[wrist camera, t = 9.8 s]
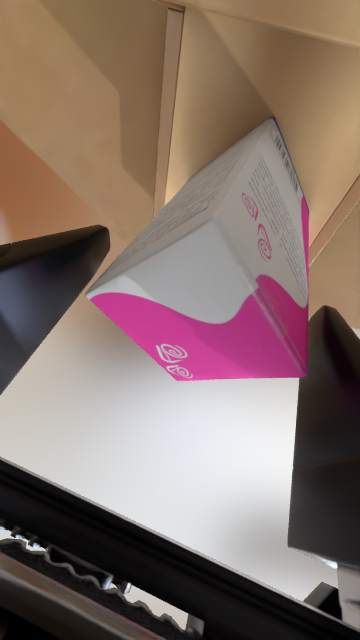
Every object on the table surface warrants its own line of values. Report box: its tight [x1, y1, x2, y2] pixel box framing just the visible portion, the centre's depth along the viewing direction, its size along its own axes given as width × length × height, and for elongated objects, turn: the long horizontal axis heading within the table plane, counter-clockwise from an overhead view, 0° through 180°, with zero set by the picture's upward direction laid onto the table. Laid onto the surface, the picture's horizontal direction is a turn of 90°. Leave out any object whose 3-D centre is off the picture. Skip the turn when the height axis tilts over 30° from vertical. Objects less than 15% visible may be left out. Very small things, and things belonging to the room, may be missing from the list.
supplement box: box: [85, 115, 309, 381], centre depth 11 cm, size 6×6×12 cm
